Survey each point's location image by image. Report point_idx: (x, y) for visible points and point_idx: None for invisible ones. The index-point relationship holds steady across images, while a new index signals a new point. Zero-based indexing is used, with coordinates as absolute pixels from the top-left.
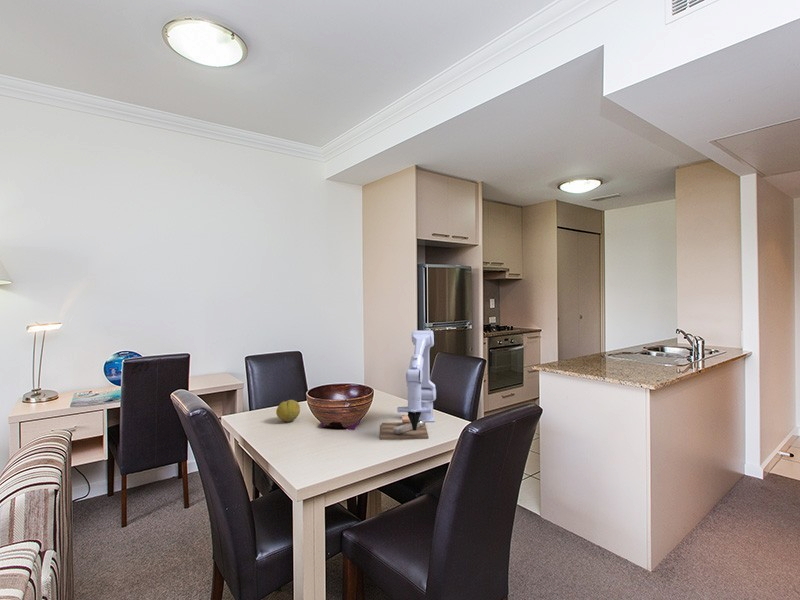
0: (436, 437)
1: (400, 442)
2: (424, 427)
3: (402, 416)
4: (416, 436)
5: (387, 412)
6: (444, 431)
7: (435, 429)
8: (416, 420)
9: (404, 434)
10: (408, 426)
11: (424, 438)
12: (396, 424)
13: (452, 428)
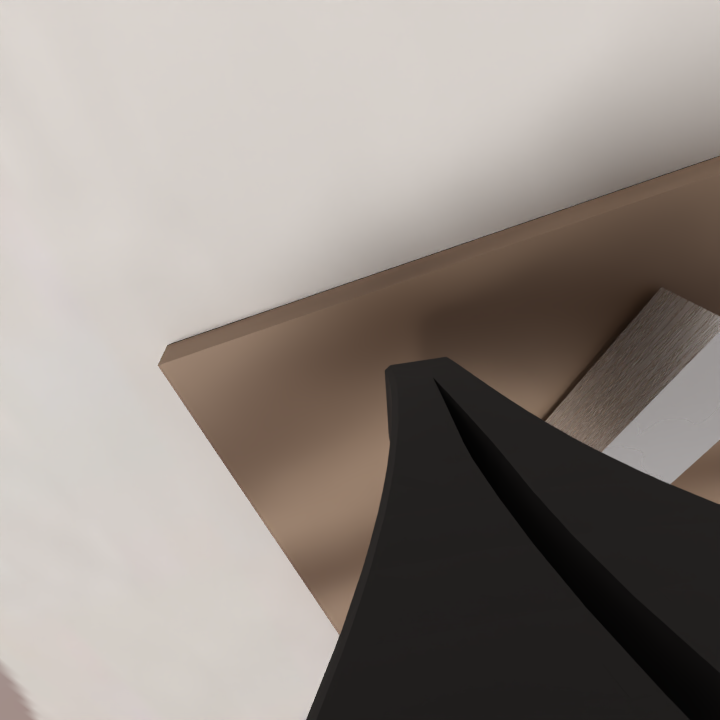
0: (79, 427)
1: (602, 11)
2: (338, 601)
3: None
4: (354, 299)
5: None
6: (99, 607)
7: (224, 615)
8: (430, 532)
9: (557, 330)
10: None
11: (226, 325)
12: None
13: (66, 681)
